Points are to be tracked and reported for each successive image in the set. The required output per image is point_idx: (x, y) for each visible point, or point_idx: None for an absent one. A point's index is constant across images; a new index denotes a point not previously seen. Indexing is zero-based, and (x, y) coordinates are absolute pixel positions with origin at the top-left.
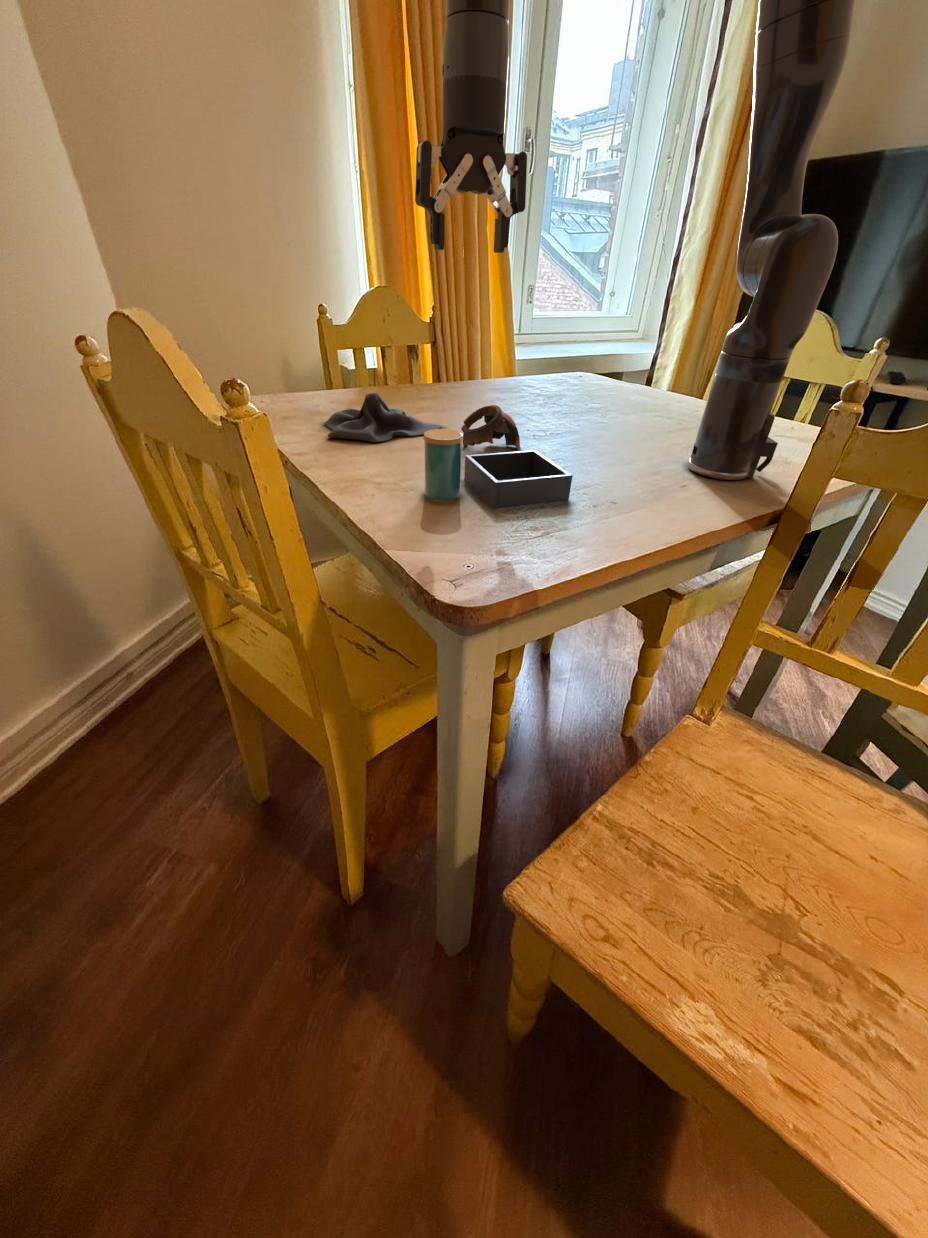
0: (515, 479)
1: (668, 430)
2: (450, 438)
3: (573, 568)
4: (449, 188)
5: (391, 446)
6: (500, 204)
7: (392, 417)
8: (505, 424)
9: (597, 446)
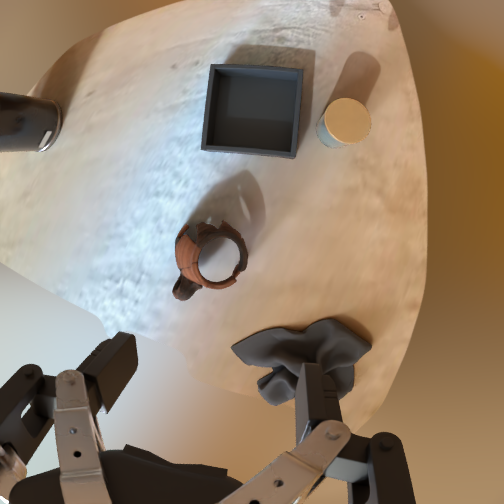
0: (277, 69)
1: (19, 246)
2: (347, 101)
3: None
4: (303, 465)
5: (319, 303)
6: (85, 398)
7: (295, 359)
8: (198, 231)
9: (92, 222)
